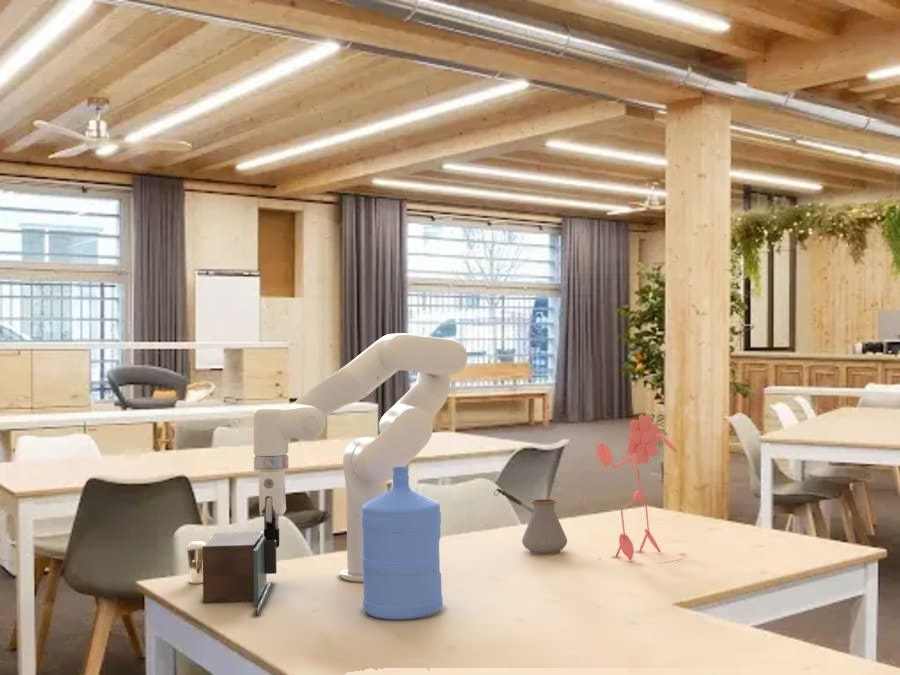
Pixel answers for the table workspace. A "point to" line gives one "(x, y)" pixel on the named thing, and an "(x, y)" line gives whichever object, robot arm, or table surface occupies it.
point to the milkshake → (195, 561)
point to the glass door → (263, 565)
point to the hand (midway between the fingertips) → (271, 546)
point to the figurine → (642, 446)
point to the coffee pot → (541, 527)
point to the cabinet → (231, 568)
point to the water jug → (401, 553)
